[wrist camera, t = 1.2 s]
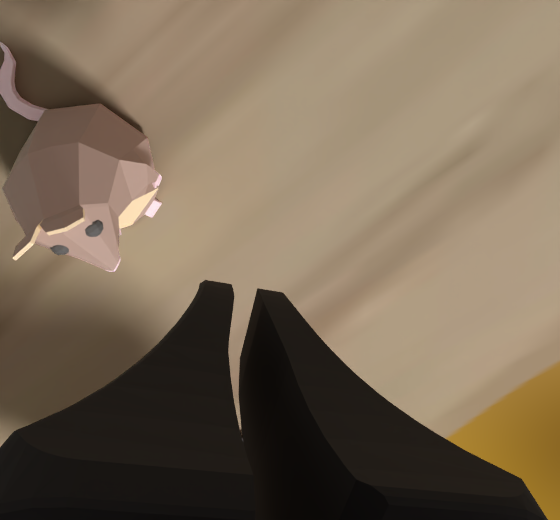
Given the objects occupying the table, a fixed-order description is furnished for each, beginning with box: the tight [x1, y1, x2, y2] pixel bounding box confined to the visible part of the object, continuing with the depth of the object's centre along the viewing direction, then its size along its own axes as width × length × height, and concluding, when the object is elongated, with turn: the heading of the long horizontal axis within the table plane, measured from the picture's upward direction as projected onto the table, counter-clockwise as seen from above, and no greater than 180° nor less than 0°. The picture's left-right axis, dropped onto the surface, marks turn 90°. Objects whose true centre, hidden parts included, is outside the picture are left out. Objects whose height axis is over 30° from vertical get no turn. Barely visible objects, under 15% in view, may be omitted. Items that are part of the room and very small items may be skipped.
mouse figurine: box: [0, 41, 162, 272], centre depth 16 cm, size 5×8×7 cm, turn 28°
